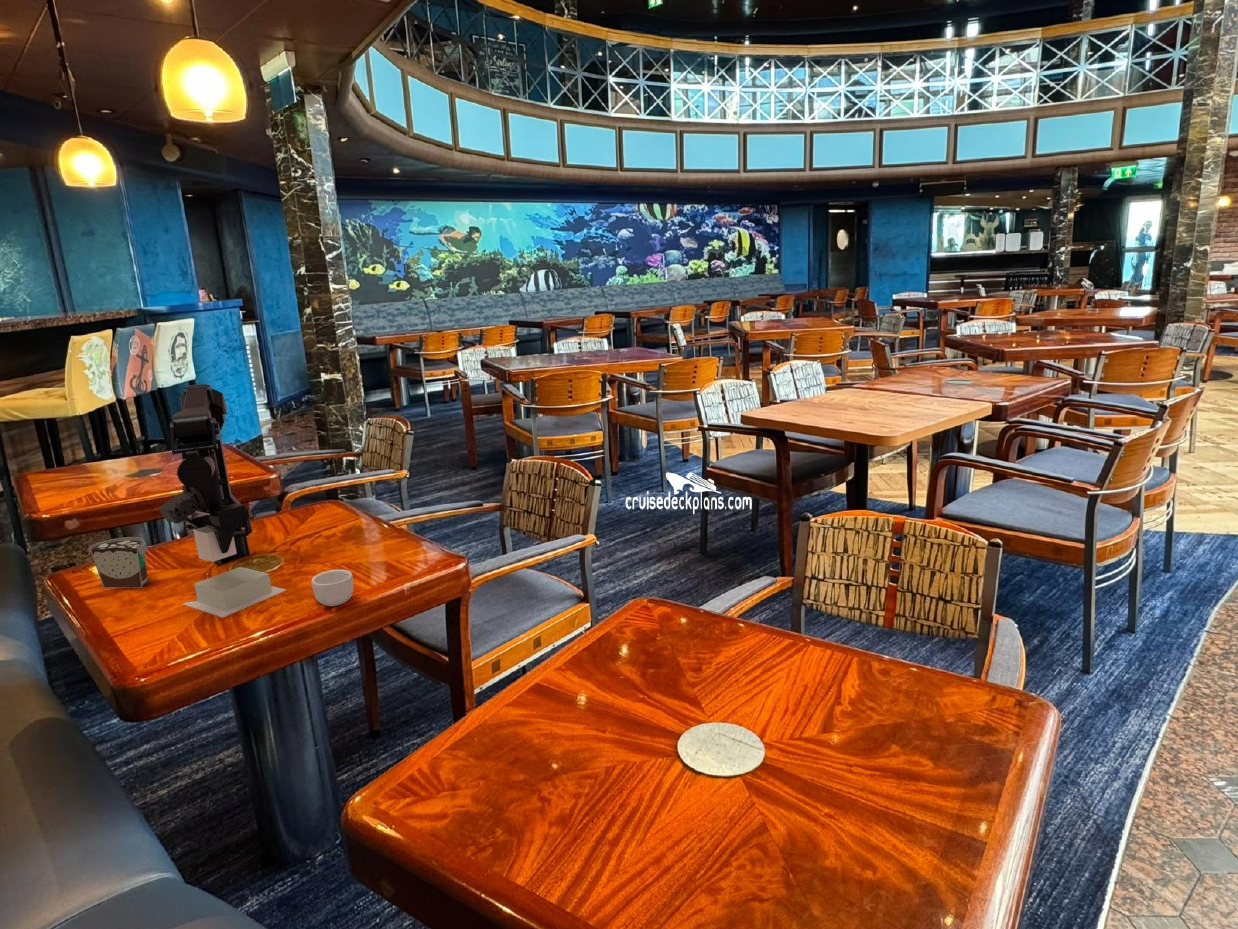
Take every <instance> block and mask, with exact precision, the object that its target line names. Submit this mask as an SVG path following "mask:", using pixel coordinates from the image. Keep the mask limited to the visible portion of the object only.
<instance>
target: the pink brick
mask: <svg viewBox="0 0 1238 929" xmlns="http://www.w3.org/2000/svg"><path fill="white" fill-rule="evenodd" d="M193 535H194V541H195V545H196V550H197V555H198V556H197V557H198V559H201V560H203V561H208V562H213V563H214V561H217V560H220V559H223V558H226V557H229V556H232V555H234V554H237V553H236V547H235V542H234V537H233V538H232V541H231V544H230V547H229V550H228V552H227V553H224V554H223V553H222V552H221V550H220V548H219V545H218V542H217V539H216V536H215V532H214V530H213V529H211V528H209V527H207V526H206V527H202V528H199V529H195V528H194V529H193Z"/></svg>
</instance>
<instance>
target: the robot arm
mask: <svg viewBox="0 0 1238 929" xmlns="http://www.w3.org/2000/svg"><path fill="white" fill-rule="evenodd" d="M180 407H181V411H178V412H176V413H174V415H173V417H172V421H171V422H169V433H170V445H171V454H172V455H177V454H181V458H182V459H181V462H180V463H179V465H178V467H177V471H176V474H177V478H178V480H179V481H180V483H181V484H183V485H182V487H181V488H182V493H179V494H178V495H176V496H174V497H173V498H171V499H169V500H168V501H166V502H165V503H162V504H161V505H160V506H158V510H159V511H160V513H161V515H162V516H163V518H164V519H165V520H166V522H168V523H174V524H180V523H182V522H185V523H187V524H188V525H190V526H192V527H193V528H194V530H195V529H199V528H202V527H206V526H207V527H209V528H211V529H213V530H214V532H215V536H216V539H217V542H218V545H219V548H220V550H221V552H222V553H223V554H224V553H227V552H228V550H229V547H230V544H231V541H232V538H233V537H234V542H235V547H236V553H237V554H234V555H232V556H229V557H226V558H223V559H220V560H217V561H214V562H213V563H214V564H215V565H216V564H217V565H221V566H223V565H225V564H228V563H231V562H234V561H237V560H239V559H241V558H245V557H247V556H250V555H251V554H250V548H249V541H248V537H249V536H250V535H251V534H253V528H252V523H251V520H250V519H251V512H250V508H249V507H248V506H246V505H244V504H241V502H240V501H239V500H238V498H236V497H235V496H234V495H233V494H232V491H231V485H230V479H229V475H228V469H227V463H226V456H225V453H224V446H223V440H222V435H221V432H222V429H223V427H224V425H225V423H226V415H228V408H227V402H226V399H225V396H224V394H223V392H221V391H219V390H217V389H214V388H212V386H211V384H207V383H199V384H190V385H188V384H187V385H186V386H183V393H182V394H181V395H180Z"/></svg>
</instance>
